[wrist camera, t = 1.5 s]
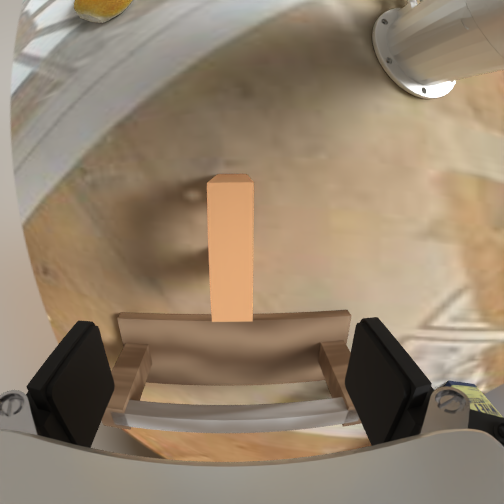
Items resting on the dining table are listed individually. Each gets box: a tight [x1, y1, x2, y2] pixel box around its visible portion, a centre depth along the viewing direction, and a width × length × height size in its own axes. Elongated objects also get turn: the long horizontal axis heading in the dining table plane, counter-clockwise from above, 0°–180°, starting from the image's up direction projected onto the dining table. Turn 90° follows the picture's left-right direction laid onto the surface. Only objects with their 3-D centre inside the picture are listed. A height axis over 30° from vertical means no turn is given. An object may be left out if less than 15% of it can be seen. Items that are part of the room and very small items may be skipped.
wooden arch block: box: [207, 174, 254, 322], centre depth 26 cm, size 10×3×12 cm, turn 0°
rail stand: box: [102, 310, 361, 433], centre depth 30 cm, size 10×28×13 cm, turn 90°
